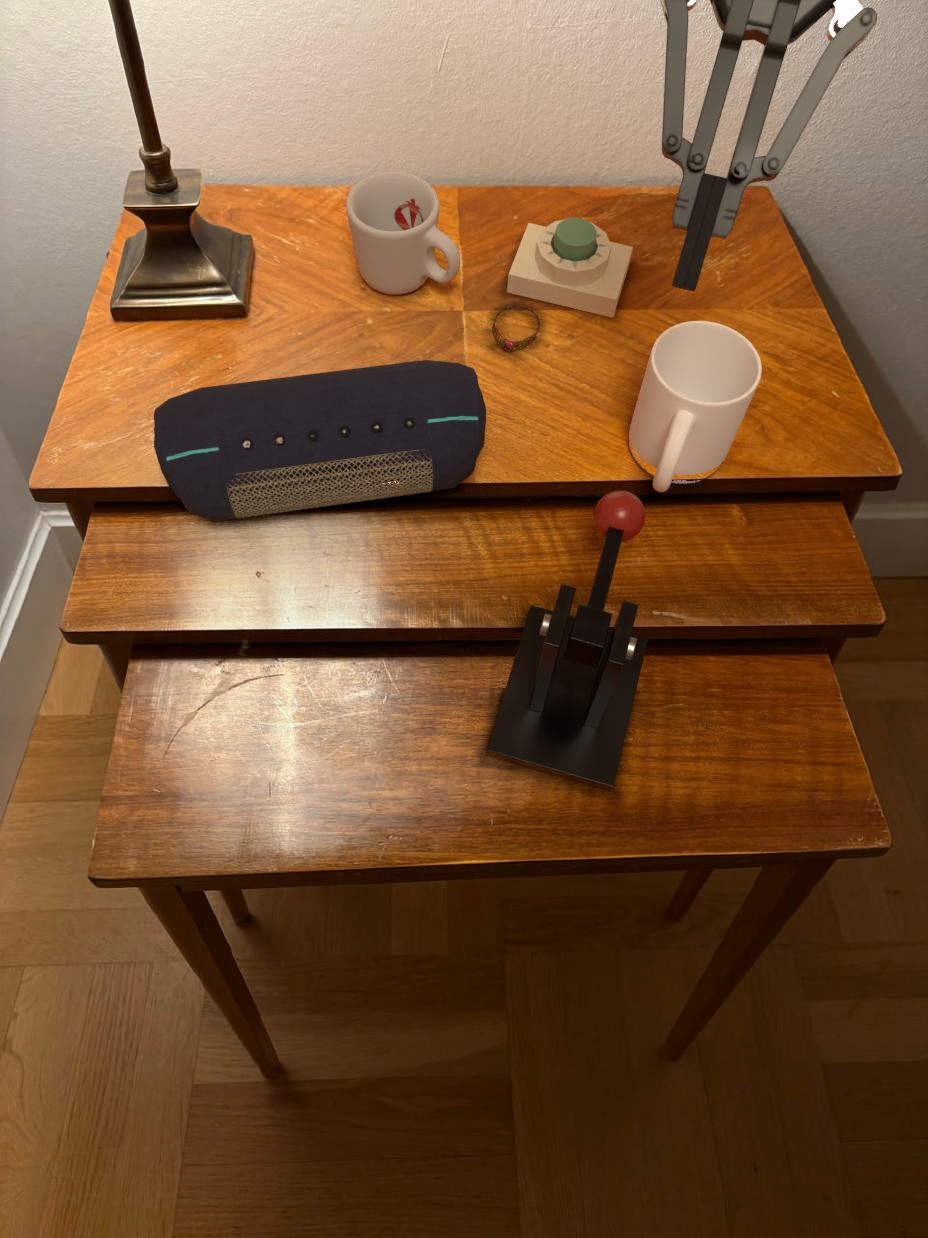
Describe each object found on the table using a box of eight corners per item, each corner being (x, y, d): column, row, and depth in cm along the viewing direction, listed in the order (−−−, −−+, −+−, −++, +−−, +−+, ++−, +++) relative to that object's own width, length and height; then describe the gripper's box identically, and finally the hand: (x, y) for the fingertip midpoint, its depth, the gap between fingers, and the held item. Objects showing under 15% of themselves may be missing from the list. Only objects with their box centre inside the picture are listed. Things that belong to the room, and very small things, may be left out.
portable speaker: (177, 552, 76) (144, 476, 67) (170, 450, 80) (138, 365, 71) (495, 508, 78) (503, 428, 70) (471, 411, 83) (476, 325, 74)
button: (597, 238, 88) (600, 222, 86) (588, 265, 86) (591, 250, 85) (559, 229, 88) (561, 213, 87) (549, 256, 87) (551, 240, 85)
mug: (696, 537, 78) (731, 457, 69) (598, 501, 79) (620, 419, 70) (736, 427, 83) (774, 340, 74) (644, 396, 84) (670, 306, 75)
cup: (480, 280, 90) (485, 208, 83) (431, 333, 87) (431, 262, 80) (386, 232, 93) (382, 157, 86) (334, 281, 89) (326, 208, 82)
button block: (629, 265, 92) (637, 230, 88) (612, 318, 88) (620, 284, 85) (526, 241, 93) (530, 205, 89) (506, 292, 89) (509, 257, 86)
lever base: (529, 612, 74) (545, 526, 64) (645, 644, 73) (681, 562, 63) (485, 756, 69) (495, 688, 58) (610, 792, 68) (643, 730, 57)
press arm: (594, 509, 71) (604, 474, 68) (643, 522, 71) (654, 487, 68) (551, 662, 63) (560, 628, 60) (605, 677, 62) (617, 644, 60)
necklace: (484, 351, 86) (484, 343, 85) (500, 301, 89) (500, 293, 88) (530, 361, 85) (531, 353, 85) (544, 311, 88) (546, 302, 87)
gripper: (907, -94, 58) (777, 313, 65) (691, -136, 59) (587, 268, 66) (943, -156, 51) (792, 310, 58) (696, -201, 52) (579, 259, 59)
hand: (683, 287), depth 62 cm, fingers closed
